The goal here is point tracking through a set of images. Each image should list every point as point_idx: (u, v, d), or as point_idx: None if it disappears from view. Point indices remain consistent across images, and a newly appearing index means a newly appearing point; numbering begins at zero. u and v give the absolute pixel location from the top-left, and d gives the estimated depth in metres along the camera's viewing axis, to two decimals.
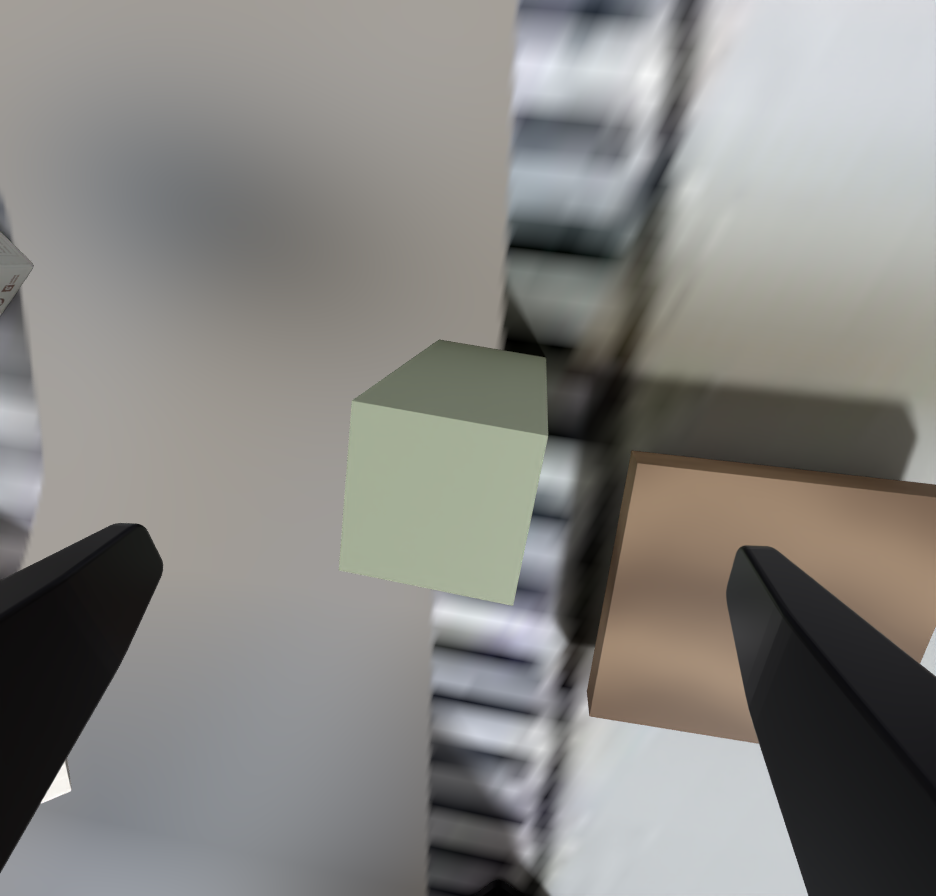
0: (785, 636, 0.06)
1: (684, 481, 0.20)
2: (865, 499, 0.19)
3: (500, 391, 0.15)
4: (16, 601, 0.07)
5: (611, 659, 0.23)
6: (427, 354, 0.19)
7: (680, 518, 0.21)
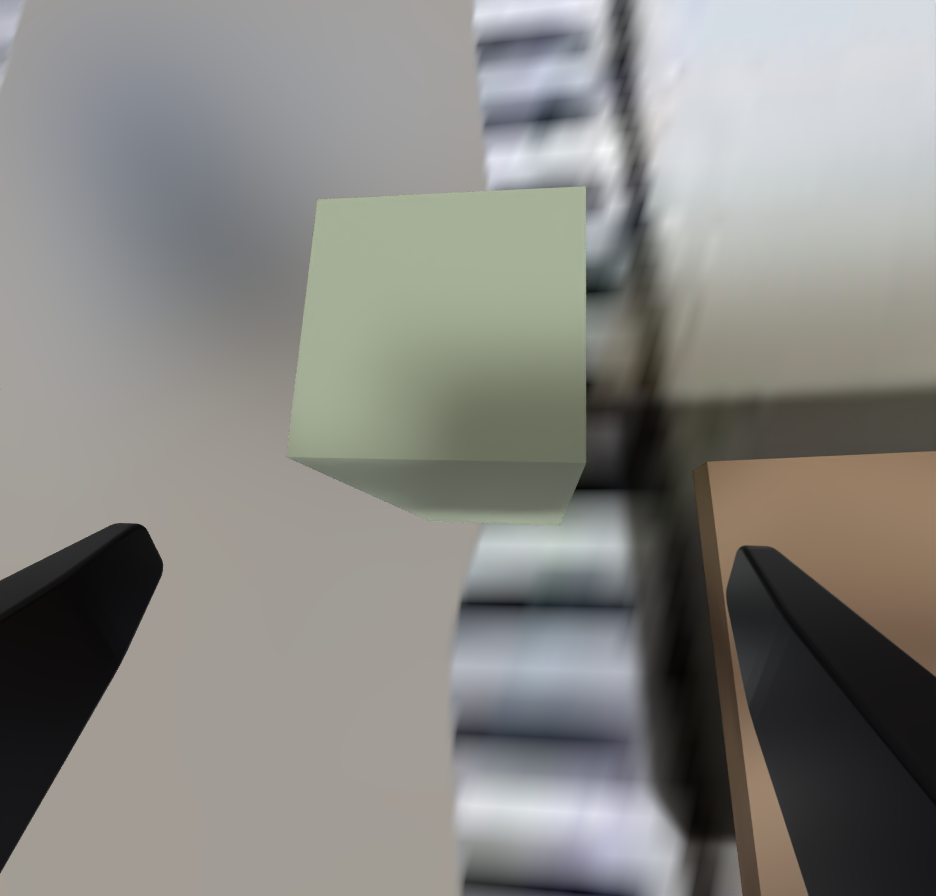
0: (785, 636, 0.06)
1: (777, 476, 0.15)
2: None
3: None
4: (16, 601, 0.07)
5: (770, 816, 0.13)
6: None
7: (792, 531, 0.15)
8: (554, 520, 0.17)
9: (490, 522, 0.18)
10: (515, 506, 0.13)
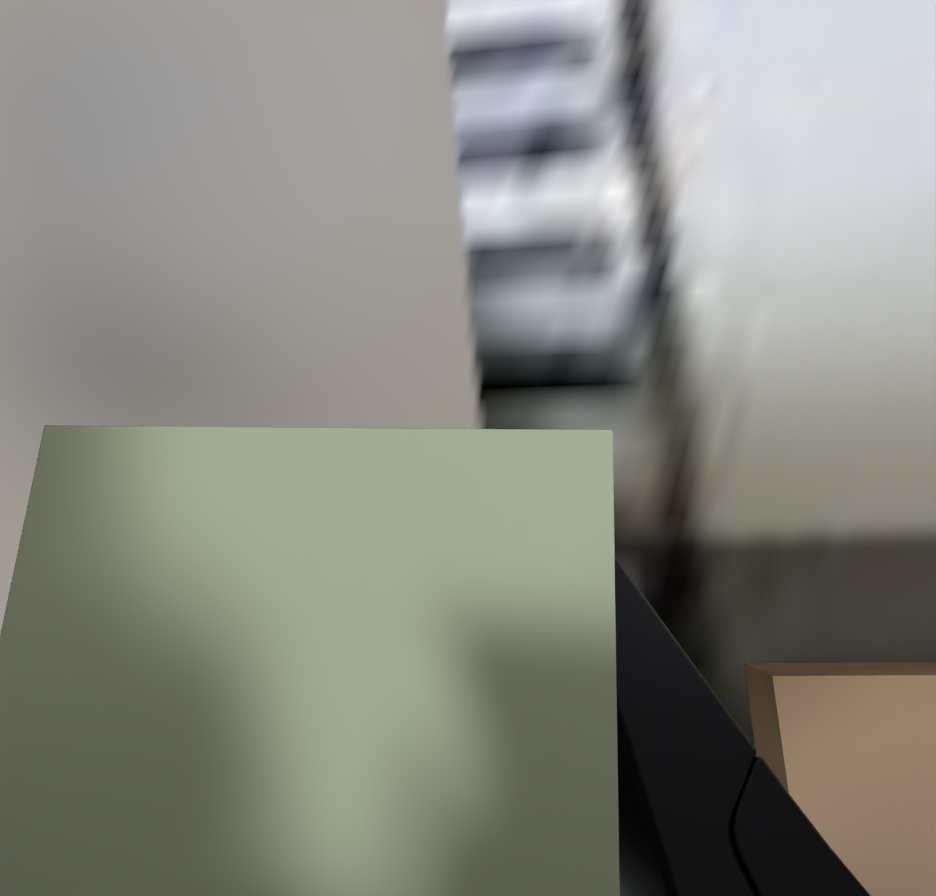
0: None
1: (877, 703, 0.10)
2: None
3: None
4: None
5: None
6: None
7: (903, 793, 0.10)
8: None
9: None
10: None
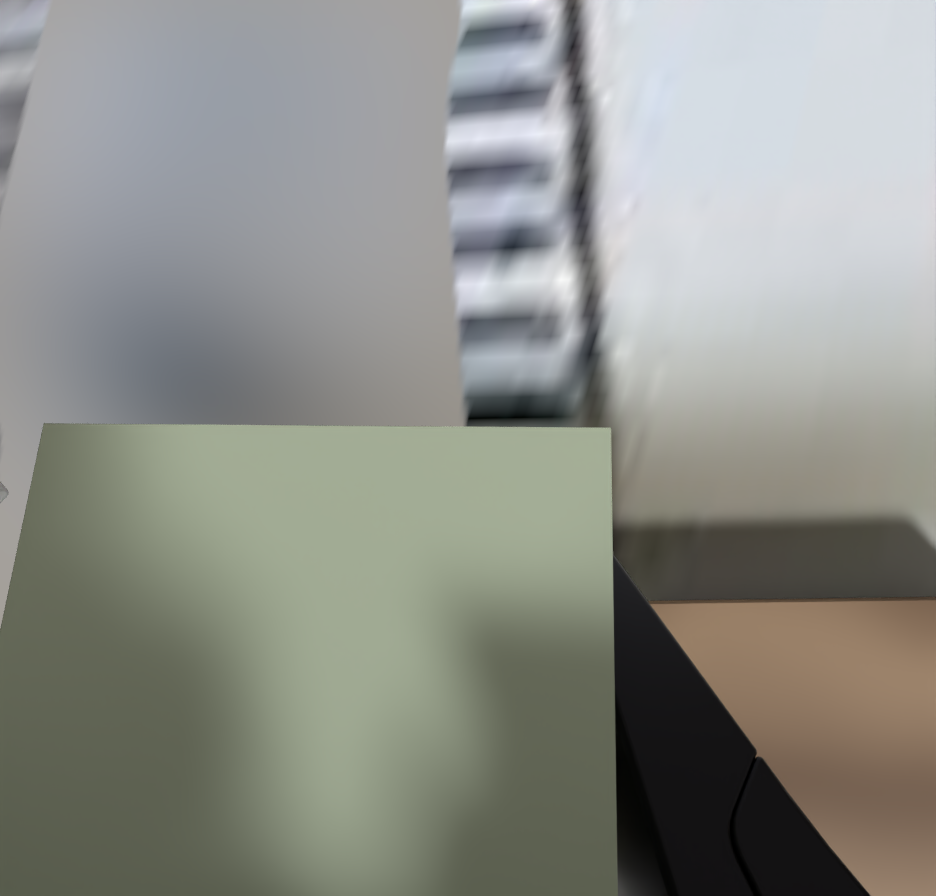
0: None
1: (697, 619, 0.17)
2: (915, 613, 0.16)
3: None
4: None
5: None
6: None
7: (708, 670, 0.17)
8: None
9: None
10: None
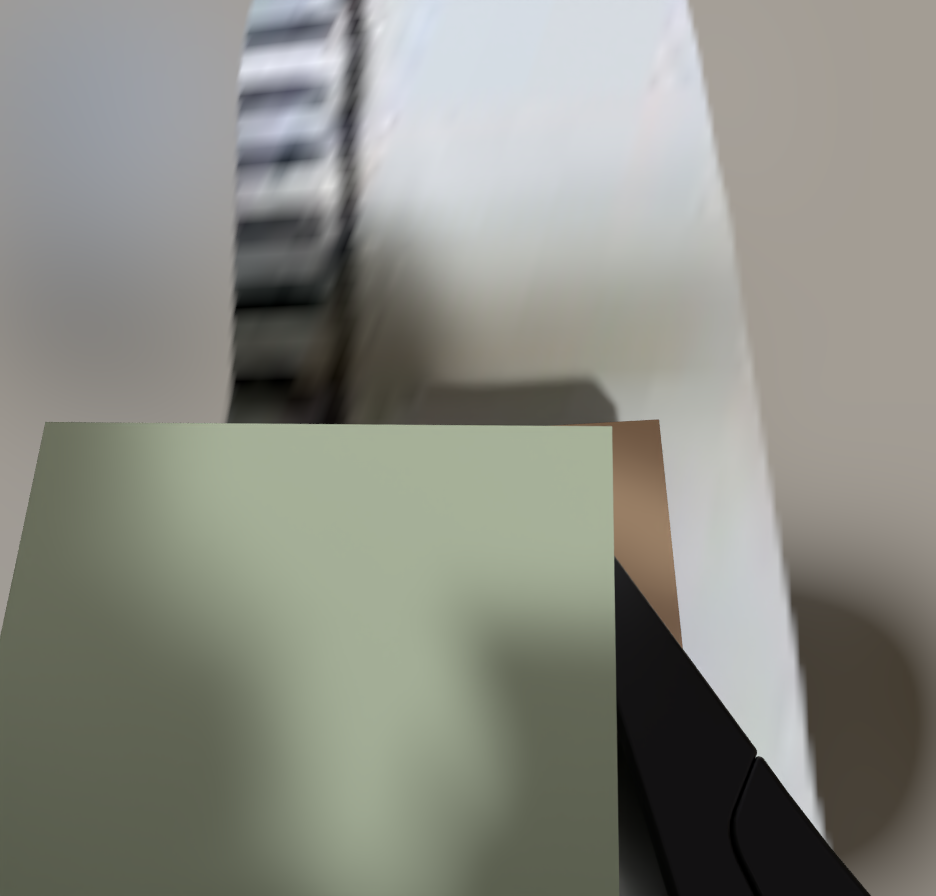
0: None
1: None
2: None
3: None
4: None
5: None
6: None
7: None
8: None
9: None
10: None
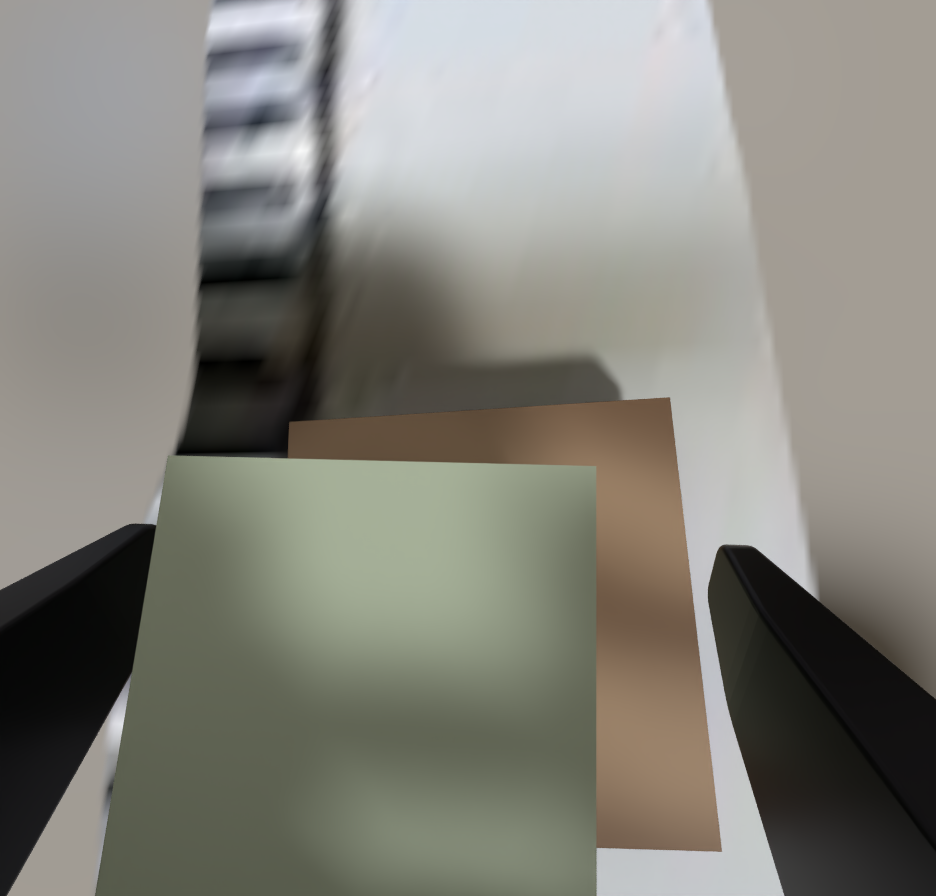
0: (761, 635, 0.06)
1: (341, 433, 0.17)
2: (539, 417, 0.17)
3: None
4: (34, 602, 0.07)
5: None
6: None
7: None
8: None
9: None
10: None
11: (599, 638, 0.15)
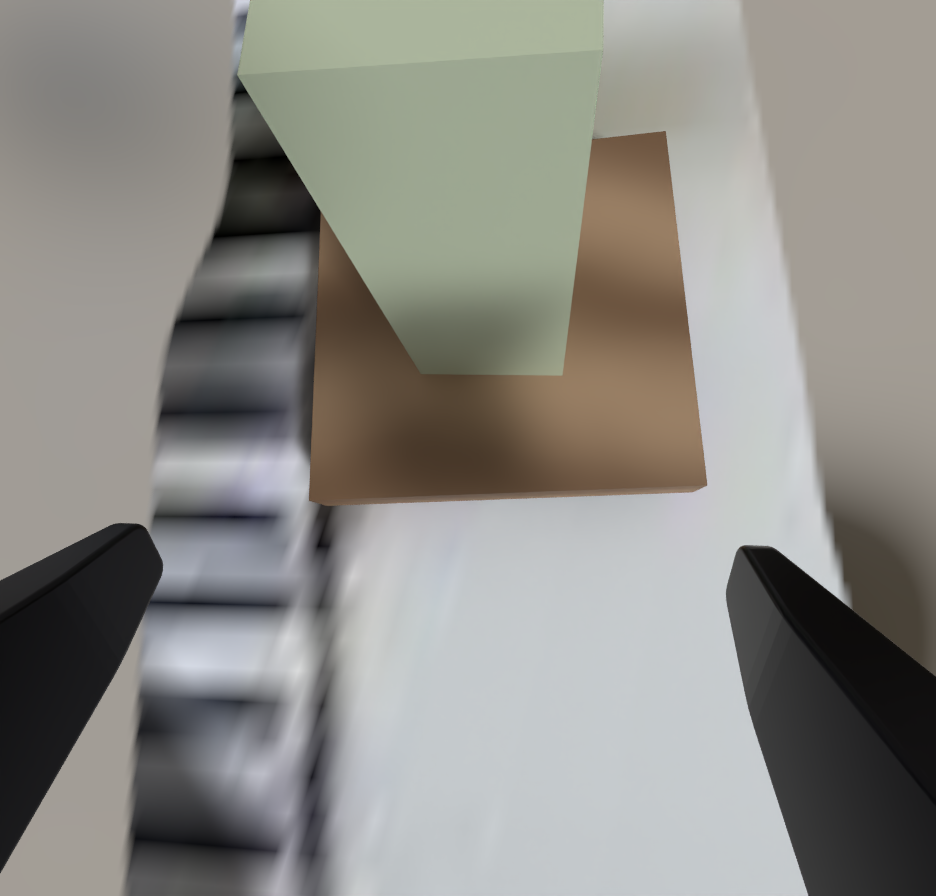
0: (785, 636, 0.06)
1: None
2: None
3: None
4: (16, 601, 0.07)
5: (326, 402, 0.18)
6: None
7: None
8: (557, 353, 0.15)
9: (487, 371, 0.17)
10: (515, 293, 0.12)
11: (600, 326, 0.17)
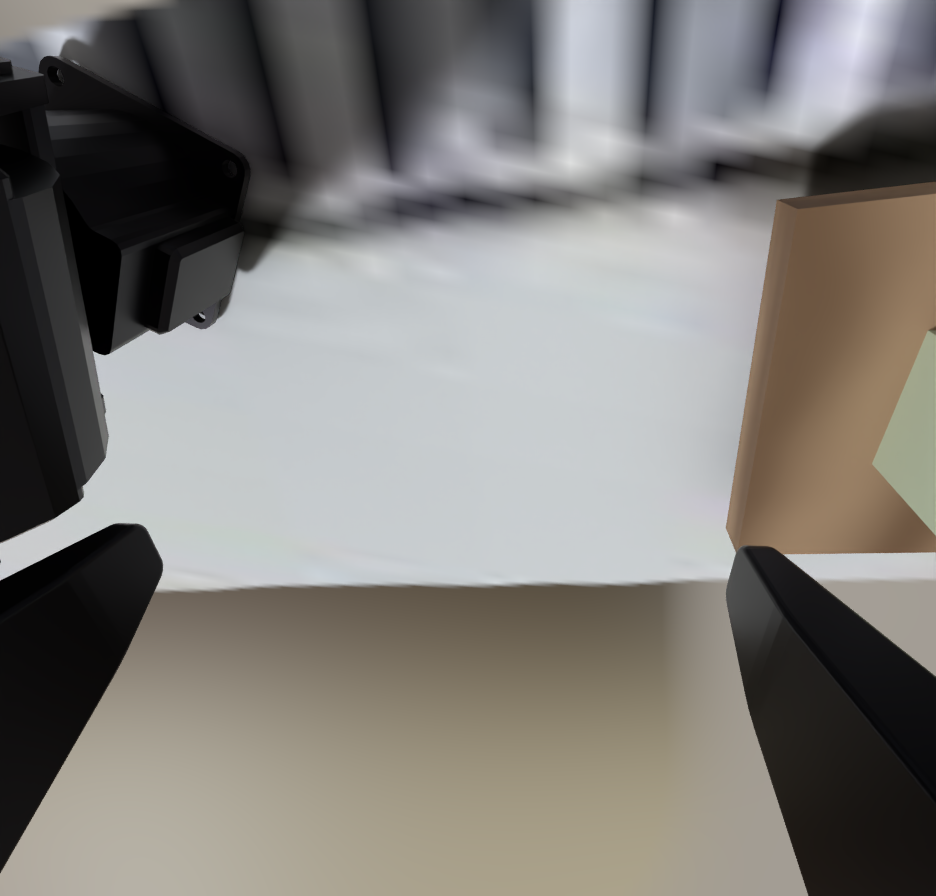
0: (785, 636, 0.06)
1: None
2: None
3: None
4: (16, 601, 0.07)
5: (932, 212, 0.14)
6: None
7: None
8: (906, 493, 0.16)
9: (903, 404, 0.16)
10: None
11: None
